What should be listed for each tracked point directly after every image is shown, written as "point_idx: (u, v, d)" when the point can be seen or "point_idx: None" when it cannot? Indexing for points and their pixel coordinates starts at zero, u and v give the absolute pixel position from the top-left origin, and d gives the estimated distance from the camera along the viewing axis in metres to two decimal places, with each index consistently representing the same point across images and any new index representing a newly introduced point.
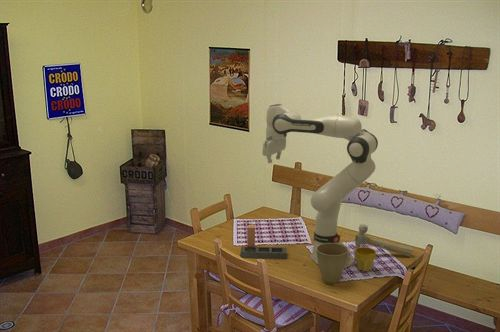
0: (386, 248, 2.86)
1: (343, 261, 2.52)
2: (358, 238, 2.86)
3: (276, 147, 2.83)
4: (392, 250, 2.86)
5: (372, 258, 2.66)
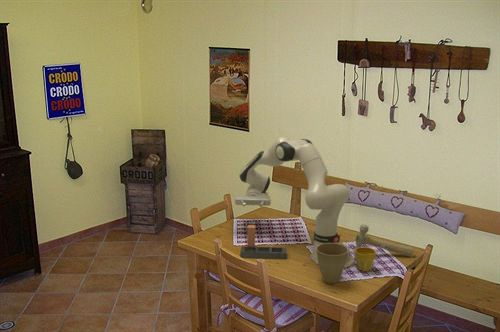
0: (387, 248, 2.86)
1: (343, 261, 2.52)
2: (359, 238, 2.86)
3: (251, 197, 3.10)
4: (393, 250, 2.85)
5: (372, 258, 2.66)
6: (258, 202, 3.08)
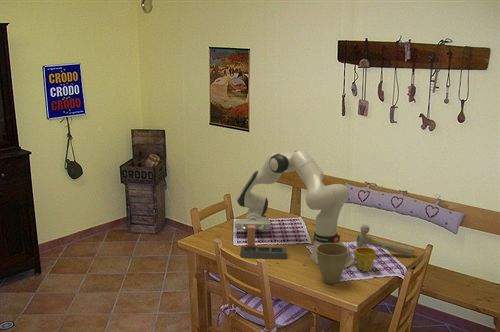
0: (388, 248, 2.86)
1: (343, 261, 2.52)
2: (360, 238, 2.86)
3: (251, 221, 3.11)
4: (394, 250, 2.85)
5: (372, 258, 2.66)
6: (258, 226, 3.09)
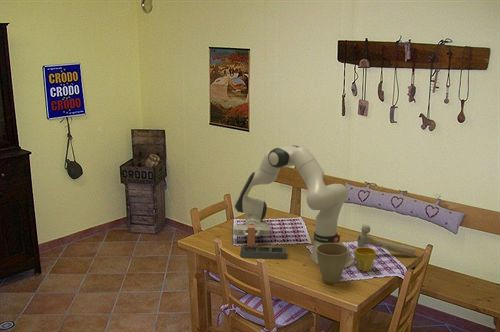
0: (389, 248, 2.86)
1: (343, 261, 2.52)
2: (361, 238, 2.86)
3: None
4: (395, 250, 2.85)
5: (372, 258, 2.66)
6: None
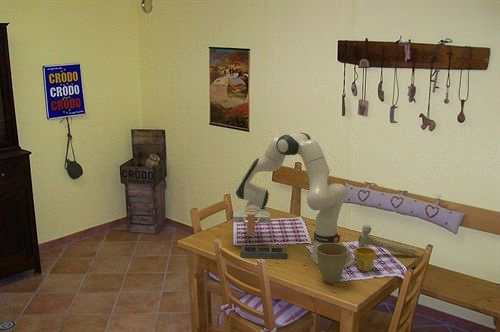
0: (389, 248, 2.85)
1: (343, 261, 2.52)
2: (362, 239, 2.85)
3: None
4: (396, 250, 2.85)
5: (372, 258, 2.66)
6: (257, 219, 2.91)
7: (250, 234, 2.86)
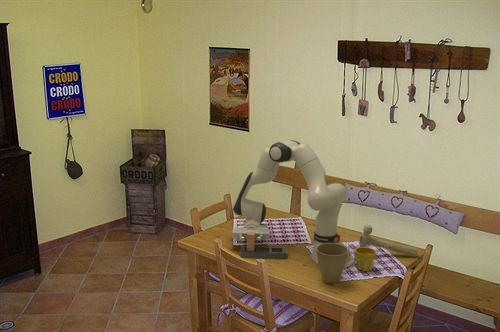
0: (391, 249, 2.85)
1: (343, 261, 2.52)
2: (363, 239, 2.85)
3: (249, 230, 2.91)
4: (397, 250, 2.85)
5: (372, 258, 2.66)
6: (256, 235, 2.89)
7: None
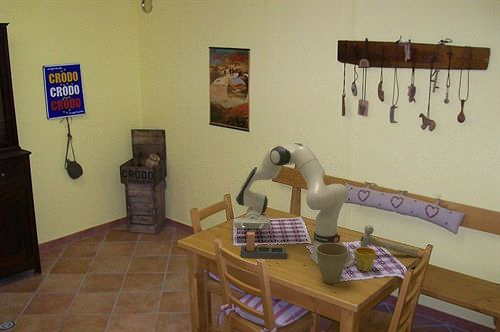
0: (392, 249, 2.85)
1: (343, 261, 2.52)
2: (364, 239, 2.85)
3: (250, 220, 3.03)
4: (398, 250, 2.85)
5: (372, 258, 2.66)
6: (257, 225, 3.02)
7: None
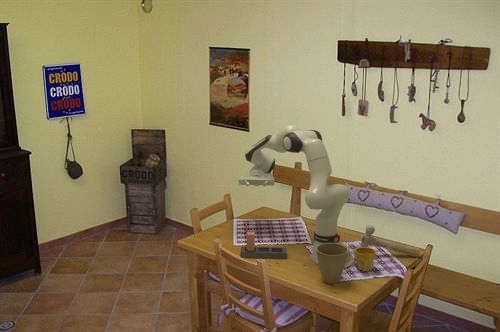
0: (393, 249, 2.85)
1: (343, 261, 2.52)
2: (365, 239, 2.84)
3: (254, 177, 3.07)
4: (399, 250, 2.85)
5: (372, 258, 2.66)
6: (262, 182, 3.05)
7: None
